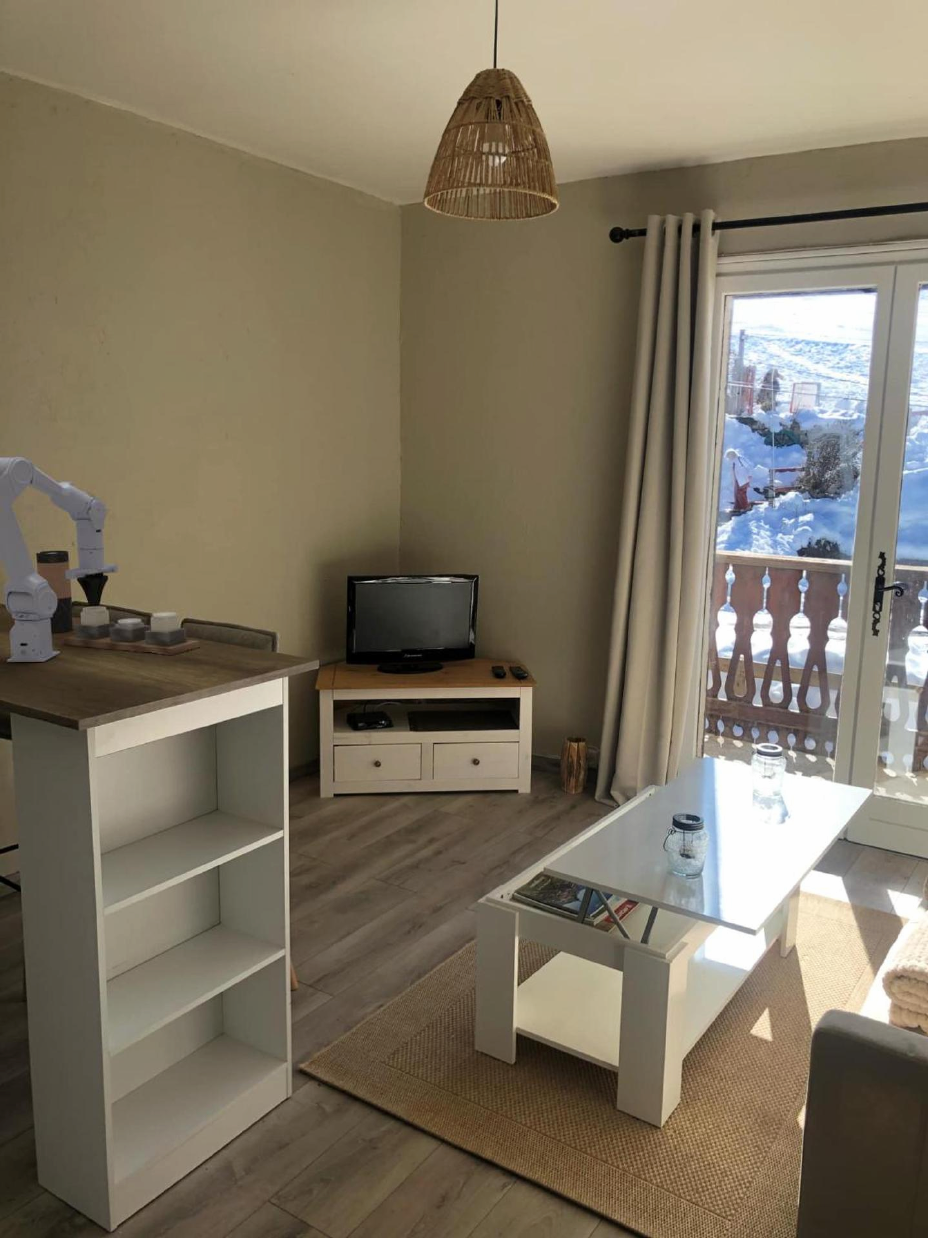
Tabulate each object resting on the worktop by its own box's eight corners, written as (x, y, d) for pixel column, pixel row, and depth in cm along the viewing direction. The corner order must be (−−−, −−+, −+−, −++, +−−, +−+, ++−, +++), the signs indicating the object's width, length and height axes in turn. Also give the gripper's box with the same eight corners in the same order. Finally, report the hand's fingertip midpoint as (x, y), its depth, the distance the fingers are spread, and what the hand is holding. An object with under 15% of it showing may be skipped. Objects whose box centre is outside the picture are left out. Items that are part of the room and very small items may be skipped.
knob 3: (182, 631, 233) (181, 612, 233) (167, 635, 229) (166, 616, 228) (164, 629, 235) (163, 611, 235) (148, 633, 231) (147, 614, 230)
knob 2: (146, 637, 238) (145, 619, 237) (131, 641, 233) (130, 622, 232) (129, 635, 240) (128, 617, 239) (113, 639, 235) (112, 621, 235)
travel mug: (79, 630, 257) (74, 551, 254) (49, 634, 252) (44, 554, 249) (65, 626, 263) (60, 549, 259) (36, 630, 257) (30, 552, 254)
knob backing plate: (199, 647, 235) (199, 628, 234) (171, 655, 226) (170, 635, 225) (94, 637, 248) (93, 619, 247) (63, 644, 239) (61, 625, 238)
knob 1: (111, 625, 242) (110, 607, 241) (95, 628, 237) (94, 610, 236) (95, 623, 244) (94, 605, 243) (78, 626, 239) (77, 608, 238)
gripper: (80, 552, 229) (84, 611, 232) (125, 546, 242) (129, 602, 245) (57, 551, 232) (61, 609, 234) (103, 545, 245) (106, 601, 247)
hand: (94, 606), depth 240 cm, fingers closed
